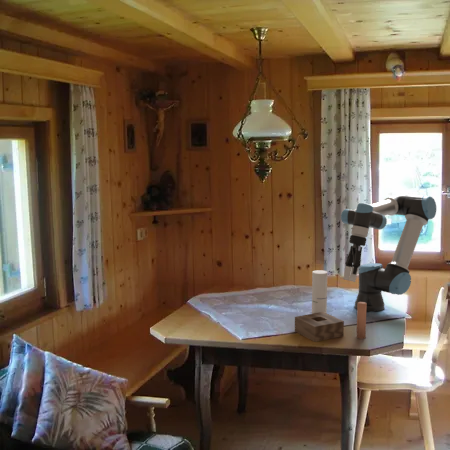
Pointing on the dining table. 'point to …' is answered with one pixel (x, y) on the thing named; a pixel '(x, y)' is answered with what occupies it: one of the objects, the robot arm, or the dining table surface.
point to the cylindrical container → (319, 291)
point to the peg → (361, 320)
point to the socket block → (319, 326)
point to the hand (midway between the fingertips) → (348, 280)
